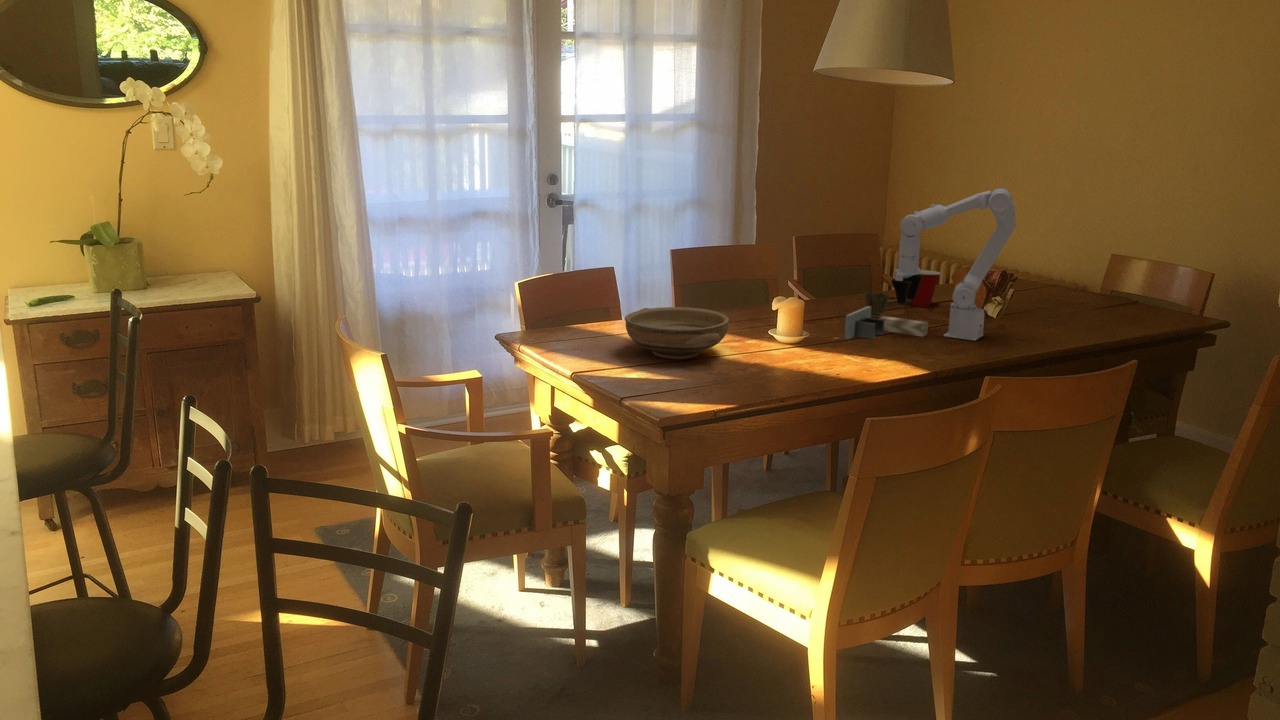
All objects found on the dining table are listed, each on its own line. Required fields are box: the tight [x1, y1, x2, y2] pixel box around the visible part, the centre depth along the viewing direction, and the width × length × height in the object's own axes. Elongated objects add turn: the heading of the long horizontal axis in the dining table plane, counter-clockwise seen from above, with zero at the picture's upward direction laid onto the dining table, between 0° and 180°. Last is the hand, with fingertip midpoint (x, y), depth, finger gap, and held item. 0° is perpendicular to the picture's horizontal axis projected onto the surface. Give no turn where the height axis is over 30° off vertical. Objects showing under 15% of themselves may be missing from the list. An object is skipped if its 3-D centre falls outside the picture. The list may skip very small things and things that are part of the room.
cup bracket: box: [853, 317, 884, 340], centre depth 299 cm, size 6×7×4 cm
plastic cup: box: [911, 269, 942, 308], centre depth 340 cm, size 11×11×12 cm
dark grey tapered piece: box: [864, 291, 890, 319], centre depth 321 cm, size 8×7×8 cm
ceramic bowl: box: [624, 306, 730, 360], centre depth 279 cm, size 37×29×10 cm
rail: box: [879, 315, 929, 338], centre depth 304 cm, size 14×4×4 cm, turn 53°
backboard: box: [844, 306, 871, 340], centre depth 301 cm, size 1×16×7 cm, turn 145°
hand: (906, 301), depth 302 cm, fingers open, 7 cm apart
